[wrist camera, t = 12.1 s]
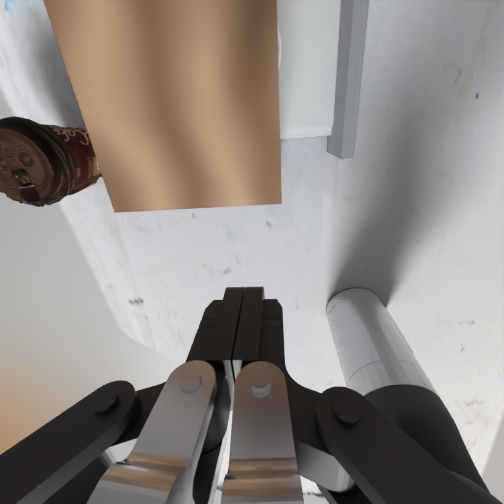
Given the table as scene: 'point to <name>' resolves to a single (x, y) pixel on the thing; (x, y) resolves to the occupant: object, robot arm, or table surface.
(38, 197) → the coffee cup
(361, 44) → the white drawer
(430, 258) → the table surface
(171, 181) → the wooden side table
